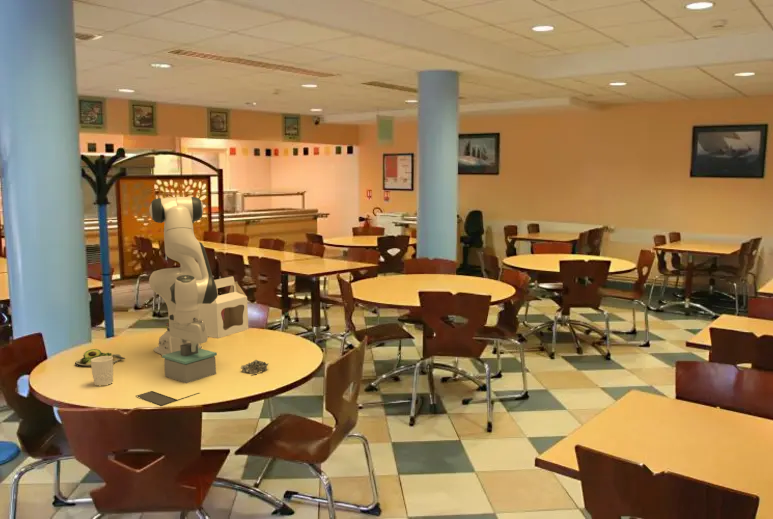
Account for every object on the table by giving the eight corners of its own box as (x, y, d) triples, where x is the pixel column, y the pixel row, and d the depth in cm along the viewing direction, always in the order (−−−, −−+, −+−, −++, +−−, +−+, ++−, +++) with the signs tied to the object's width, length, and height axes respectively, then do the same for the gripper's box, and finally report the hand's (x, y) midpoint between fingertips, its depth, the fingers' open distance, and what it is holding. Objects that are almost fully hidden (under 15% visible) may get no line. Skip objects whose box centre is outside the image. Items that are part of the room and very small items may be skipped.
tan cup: (96, 380, 256) (94, 356, 254) (117, 380, 256) (115, 355, 255) (89, 387, 248) (87, 362, 246) (110, 386, 249) (108, 361, 247)
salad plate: (133, 356, 290) (133, 346, 289) (113, 369, 272) (112, 358, 271) (92, 356, 291) (92, 346, 291) (69, 368, 274) (69, 357, 273)
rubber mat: (135, 396, 237) (135, 395, 237) (173, 385, 249) (173, 384, 249) (161, 406, 227) (161, 404, 227) (199, 393, 240) (199, 392, 240)
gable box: (230, 326, 344) (228, 274, 340) (249, 329, 337) (246, 276, 334) (198, 335, 325) (195, 280, 321) (217, 338, 318) (215, 282, 315)
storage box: (165, 378, 258) (164, 358, 257) (194, 369, 269) (193, 350, 268) (186, 385, 249) (185, 364, 248) (216, 375, 260) (215, 356, 259)
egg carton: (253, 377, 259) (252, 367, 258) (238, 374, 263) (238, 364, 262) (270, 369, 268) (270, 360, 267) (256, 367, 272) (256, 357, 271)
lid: (162, 360, 257) (161, 345, 256) (194, 351, 269) (193, 337, 268) (185, 367, 248) (184, 351, 247) (217, 358, 260) (216, 343, 259)
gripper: (210, 318, 252) (212, 353, 254) (179, 311, 264) (180, 344, 266) (197, 321, 247) (198, 356, 249) (165, 314, 259) (167, 348, 261)
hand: (189, 350), depth 258 cm, fingers closed on lid, 3 cm apart
